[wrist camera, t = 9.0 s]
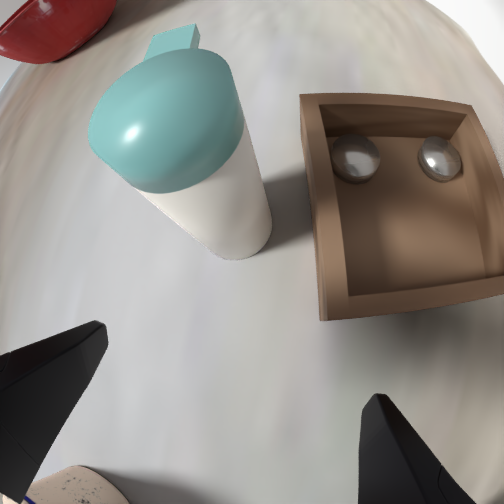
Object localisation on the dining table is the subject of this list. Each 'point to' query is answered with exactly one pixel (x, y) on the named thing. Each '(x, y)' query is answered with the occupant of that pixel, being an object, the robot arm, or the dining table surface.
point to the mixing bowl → (52, 28)
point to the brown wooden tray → (401, 208)
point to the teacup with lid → (72, 489)
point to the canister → (186, 144)
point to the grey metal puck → (354, 158)
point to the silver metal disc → (438, 159)
